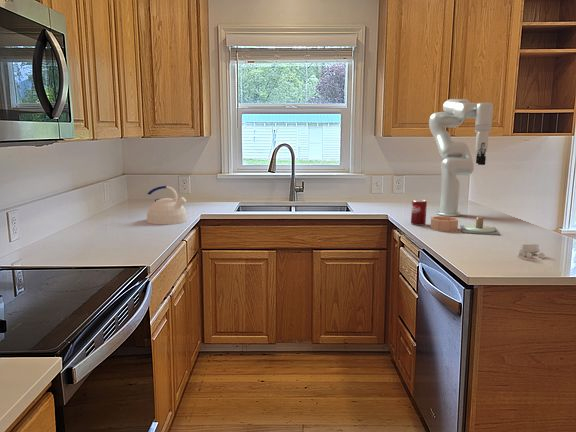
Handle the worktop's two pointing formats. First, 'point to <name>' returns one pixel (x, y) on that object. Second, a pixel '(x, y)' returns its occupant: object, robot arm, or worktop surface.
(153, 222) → the kettle
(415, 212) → the soda can
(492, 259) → the worktop surface
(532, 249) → the fabric
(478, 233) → the mat
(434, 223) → the bowl
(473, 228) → the lid
